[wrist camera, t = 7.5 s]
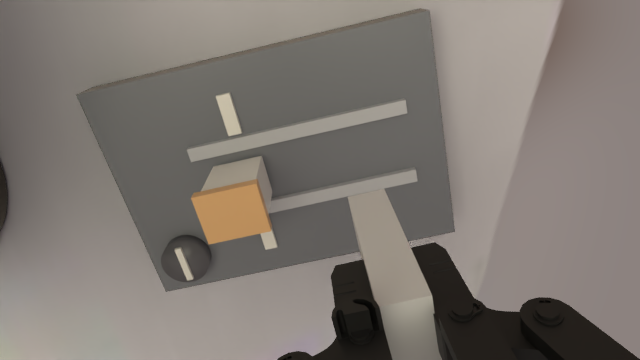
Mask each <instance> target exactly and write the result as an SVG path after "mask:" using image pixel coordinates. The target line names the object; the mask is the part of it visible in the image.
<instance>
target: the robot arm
mask: <svg viewBox="0 0 640 360" xmlns="http://www.w3.org/2000/svg"><path fill="white" fill-rule="evenodd" d="M348 201H349V205H350V210H351V214H352V219H353V223H354V228H355V232H356V237H357V241H358V246H359V250H360V255H361V258H362V260H359V261H354V262H350V263H345V264H341V265H336V266H335V268H334V270H333V273H332V275H331V280H332V287H333V294H334V302H335V308H334V309H333V311H332V321H333V325H334V328H335V332H336V335H337V337H336V339H335V340H334V342H333V343H332V344H331V345H330V346H329V347H328V348H327V349H325V350H324V351H322V352H320V353H319V354H317V355H315V356H313V357H312V356H311V355H309V354H308V353H306V352H299V351H296V352H291V353H287V354H285V355H283V356H281V357H280V358H279V359H277V360H441V358H442V360H640V359H639V358H637V357H636V356H635V355H633V354H632V353H631V352H629V351H628V350H627V349H625V348H624V347H623V346H621V345H620V344H619V343H617V342H616V341H615V340H614V339H612V338H611V337H610V336H608V335H607V334H606V333H604V332H603V331H602V330H600V329H599V328H598V327H596V326H595V325H594V324H593V323H591V322H590V321H589V320H587V319H586V318H585V317H583V316H582V315H581V314H579V313H578V312H577V311H575V310H574V309H573V308H572V307H570V306H569V305H567V304H565V303H563V302H562V301H559V300H555V299H551V298H535V299H531V300H528V301H527V302H526V303H524V304H523V305H522V307H521V309H520V312H505V311H496V310H491V309H489V308H486V307H485V306H484V305H483V303H482V302H480V301H478V300H476V299H474V297H473V296H472V294H471V293H470V291H469V289H468V287H467V286H466V284H465V282H464V280H463V279H462V277H461V275H460V273H459V272H458V270H457V269H456V266H455V265H454V263H453V261H452V260H451V258H450V256H449V254H448V253H447V251H446V249H444V248H443V247H441V246H440V245H438V244H436V243H431V244H426V245H422V246H417V247H413V248H411V247H410V245H409V243H408V241H407V238H406V236H405V234H404V232H403V230H402V227H401V225H400V223H399V221H398V218H397V216H396V214H395V212H394V210H393V207H392V205H391V203H390V201H389V198H388V196H387V194H386V192H385V190H384V189H380V190H376V191H371V192H367V193H363V194H358V195H354V196H349V197H348ZM6 210H7V187H6V182H5V177H4V173H3V170H2V167H1V164H0V230H1V228H2V225H3V223H4V219H5V216H6Z"/></svg>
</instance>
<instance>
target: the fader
mask: <svg viewBox="0 0 640 360" xmlns="http://www.w3.org/2000/svg"><path fill="white" fill-rule="evenodd" d="M271 197H272V188H271V185H270V182H269V178H268V175H267V172H266V168H265V165H264V162H263V158H262V156H258V157H253V158H249V159H245V160H240V161H236V162H231V163H227V164H222V165H218V166H213V168H212V170H211V172H210V174H209V176H208V178H207V180H206V182H205V184H204V186H203V188H202V190H201V191H200V192H196V193H193V195H192V197H191V200H192V203H193V205H194V208H195V210H196V213H197V215H198V218H199V221H200V223H201V226H202V228H203V231H204V234H205V236H206V239H207V241H208V244H214V243H218V242H223V241H228V240H232V239H237V238H242V237H246V236H251V235H256V234H260V233H265V232H270V231H271V229H272V224H271V221H270V218H269V209H270V203H271Z"/></svg>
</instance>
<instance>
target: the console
mask: <svg viewBox="0 0 640 360" xmlns="http://www.w3.org/2000/svg"><path fill="white" fill-rule="evenodd" d="M77 98H78V100H79V102H80V104H81V106H82V109H83V111H84V113H85V115H86V117H87V119H88V122H89V124H90V126H91V128H92V130H93V133H94V135H95V137H96V139H97V141H98V144H99V146H100V148H101V150H102V152H103V155H104V157H105V159H106V161H107V163H108V166H109V168H110V170H111V172H112V174H113V176H114V179H115V181H116V183H117V185H118V187H119V190H120V192H121V194H122V196H123V198H124V201H125V203H126V205H127V207H128V209H129V212H130V214H131V216H132V218H133V220H134V223H135V225H136V227H137V229H138V231H139V234H140V236H141V238H142V240H143V242H144V244H145V247H146V249H147V251H148V253H149V255H150V258H151V260H152V262H153V264H154V266H155V269H156V271H157V273H158V275H159V277H160V280H161V282H162V284H163V286H164V288H165V291H166V292H167V291H172V290H177V289H181V288H186V287H191V286H196V285H201V284H205V283H210V282H215V281H220V280H225V279H229V278H234V277H239V276H244V275H249V274H253V273H258V272H263V271H268V270H273V269H277V268H282V267H287V266H292V265H297V264H301V263H306V262H311V261H316V260H321V259H325V258H330V257H335V256H340V255H345V254H349V253H354V252H359V251H360V250H359V246H358V241H357V237H356V232H355V228H354V223H353V219H352V214H351V210H350V205H349V201H348V197H349V196H354V195H358V194H363V193H367V192H371V191H376V190H380V189H384V190H385V192H386V194H387V196H388V198H389V201H390V203H391V205H392V207H393V210H394V212H395V214H396V216H397V218H398V221H399V223H400V225H401V227H402V230H403V232H404V234H405V236H406V238H407V241H412V240H417V239H421V238H426V237H431V236H436V235H441V234H445V233H450V232H455V229H454V220H453V212H452V203H451V194H450V186H449V177H448V168H447V160H446V151H445V142H444V134H443V125H442V116H441V108H440V99H439V90H438V82H437V73H436V64H435V56H434V47H433V38H432V30H431V21H430V12H429V10H425V9H417V10H412V11H408V12H404V13H400V14H396V15H392V16H387V17H383V18H379V19H375V20H371V21H367V22H362V23H358V24H354V25H350V26H346V27H342V28H337V29H333V30H329V31H325V32H321V33H317V34H312V35H308V36H304V37H300V38H296V39H292V40H287V41H283V42H279V43H275V44H271V45H267V46H262V47H258V48H254V49H250V50H246V51H242V52H237V53H233V54H229V55H225V56H221V57H217V58H212V59H208V60H204V61H200V62H196V63H192V64H187V65H183V66H179V67H175V68H171V69H167V70H162V71H158V72H154V73H150V74H146V75H142V76H137V77H133V78H129V79H125V80H121V81H117V82H112V83H108V84H104V85H100V86H96V87H92V88H90V89H88V90H85V91H83V92H81V93H79V94H77ZM258 156H262V158H263V162H264V165H265V168H266V172H267V175H268V178H269V182H270V185H271V188H272V197H271V203H270V209H269V218H270V221H271V224H272V229H271V231H270V232H265V233H260V234H256V235H251V236H246V237H242V238H237V239H232V240H228V241H223V242H218V243H214V244H208V241H207V239H206V236H205V234H204V231H203V228H202V226H201V223H200V221H199V218H198V215H197V213H196V210H195V208H194V205H193V203H192V200H191V197H192V195H193V193H196V192H200V191H201V190H202V188H203V186H204V184H205V182H206V180H207V178H208V176H209V174H210V172H211V170H212V168H213V166H218V165H222V164H227V163H231V162H236V161H240V160H245V159H249V158H253V157H258Z"/></svg>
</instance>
